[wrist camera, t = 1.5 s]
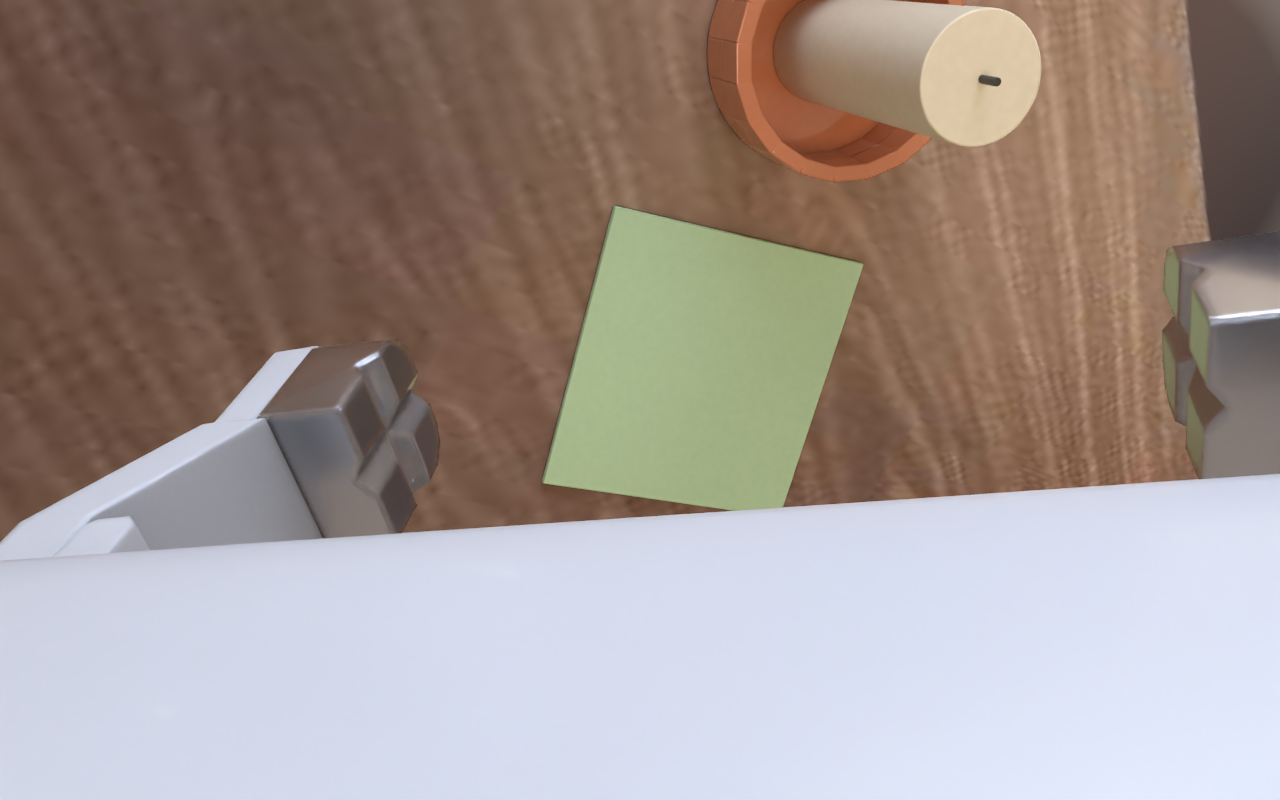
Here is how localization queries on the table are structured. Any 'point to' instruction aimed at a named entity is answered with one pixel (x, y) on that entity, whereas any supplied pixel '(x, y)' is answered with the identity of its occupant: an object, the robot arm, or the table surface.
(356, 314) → the table surface
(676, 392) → the pad
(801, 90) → the candle
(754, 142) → the pot
